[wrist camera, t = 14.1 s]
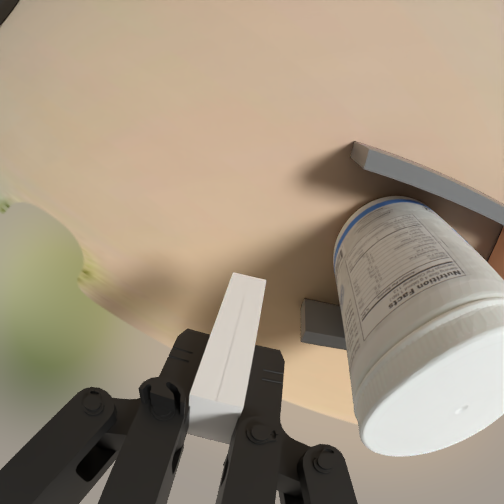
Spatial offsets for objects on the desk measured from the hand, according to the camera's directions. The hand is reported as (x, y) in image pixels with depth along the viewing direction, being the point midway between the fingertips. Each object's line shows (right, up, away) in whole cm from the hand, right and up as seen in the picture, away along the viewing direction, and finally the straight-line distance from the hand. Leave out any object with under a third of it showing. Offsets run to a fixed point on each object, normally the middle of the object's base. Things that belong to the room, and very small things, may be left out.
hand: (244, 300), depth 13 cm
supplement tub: (+11, +2, +8) cm, 14 cm away
